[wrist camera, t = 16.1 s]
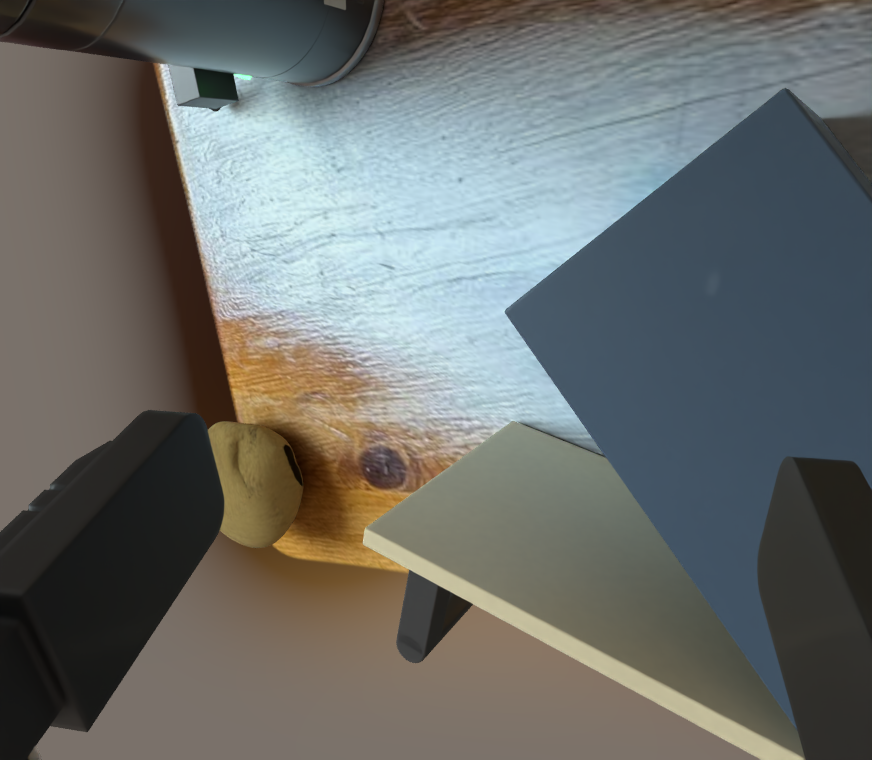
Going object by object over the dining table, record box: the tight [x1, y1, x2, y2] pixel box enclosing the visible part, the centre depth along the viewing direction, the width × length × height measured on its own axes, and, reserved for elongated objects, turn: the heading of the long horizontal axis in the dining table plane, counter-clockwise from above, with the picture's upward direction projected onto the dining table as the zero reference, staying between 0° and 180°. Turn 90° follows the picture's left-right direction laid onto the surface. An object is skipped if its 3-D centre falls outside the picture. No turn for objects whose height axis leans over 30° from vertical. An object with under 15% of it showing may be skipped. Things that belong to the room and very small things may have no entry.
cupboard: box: [505, 88, 872, 731], centre depth 23 cm, size 9×16×14 cm, turn 41°
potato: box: [208, 421, 303, 548], centre depth 46 cm, size 7×8×8 cm
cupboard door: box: [363, 421, 805, 760], centre depth 29 cm, size 6×16×13 cm, turn 79°
